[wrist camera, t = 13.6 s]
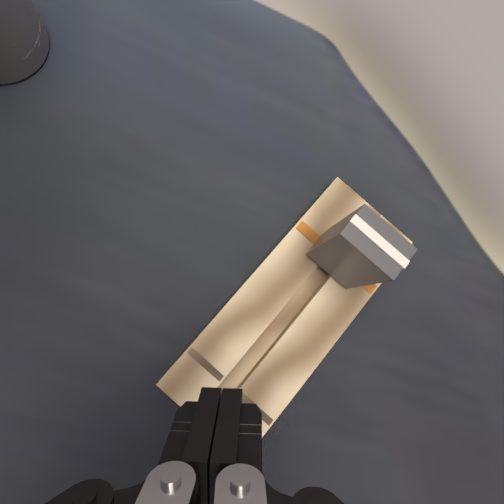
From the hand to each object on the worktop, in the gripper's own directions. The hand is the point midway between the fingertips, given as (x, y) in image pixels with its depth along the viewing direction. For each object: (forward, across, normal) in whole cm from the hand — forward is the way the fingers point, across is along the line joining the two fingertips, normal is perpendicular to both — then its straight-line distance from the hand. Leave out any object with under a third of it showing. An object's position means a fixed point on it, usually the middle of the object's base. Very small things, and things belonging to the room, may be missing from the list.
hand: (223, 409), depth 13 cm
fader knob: (+24, +8, 0) cm, 26 cm away
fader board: (+22, +4, -5) cm, 23 cm away
